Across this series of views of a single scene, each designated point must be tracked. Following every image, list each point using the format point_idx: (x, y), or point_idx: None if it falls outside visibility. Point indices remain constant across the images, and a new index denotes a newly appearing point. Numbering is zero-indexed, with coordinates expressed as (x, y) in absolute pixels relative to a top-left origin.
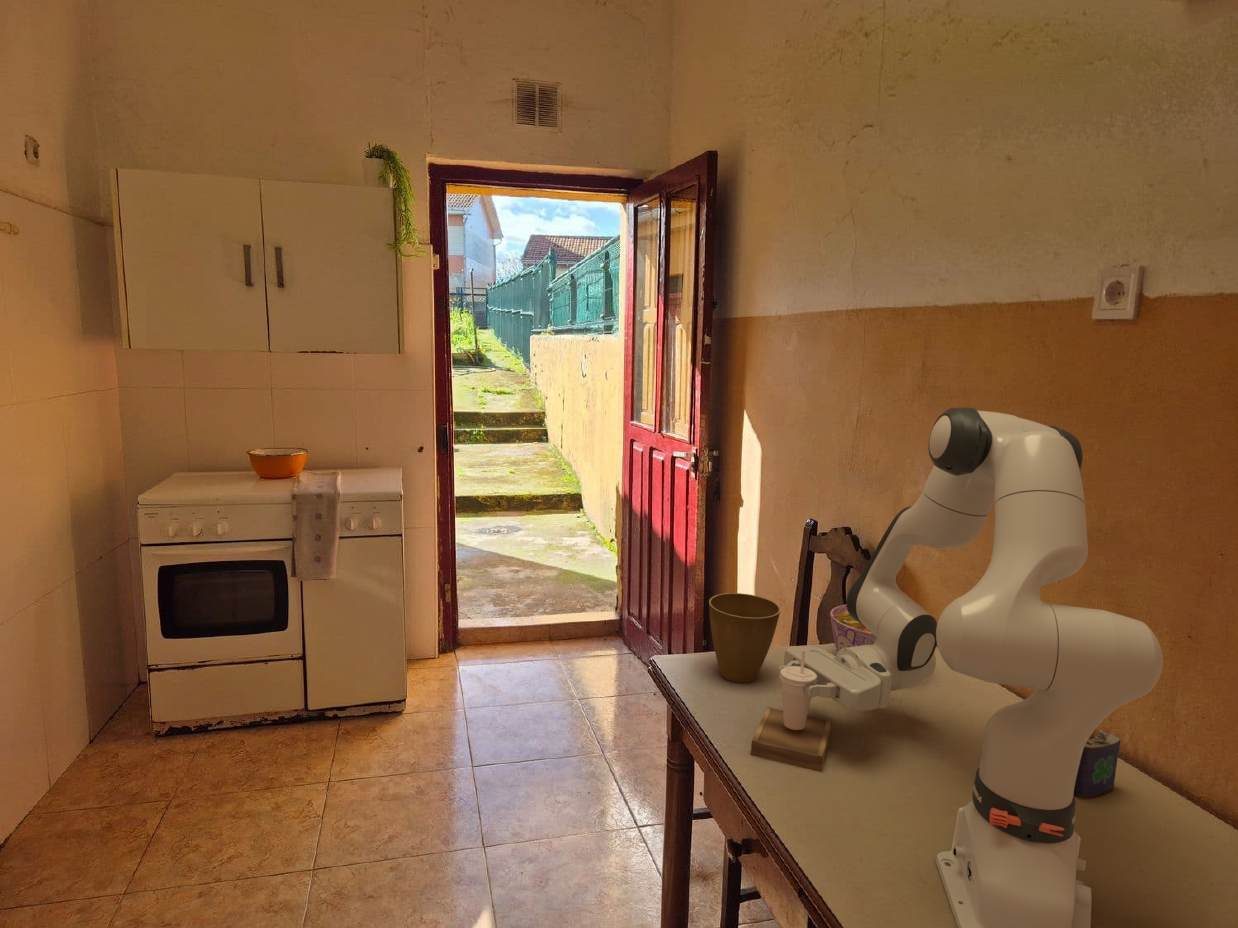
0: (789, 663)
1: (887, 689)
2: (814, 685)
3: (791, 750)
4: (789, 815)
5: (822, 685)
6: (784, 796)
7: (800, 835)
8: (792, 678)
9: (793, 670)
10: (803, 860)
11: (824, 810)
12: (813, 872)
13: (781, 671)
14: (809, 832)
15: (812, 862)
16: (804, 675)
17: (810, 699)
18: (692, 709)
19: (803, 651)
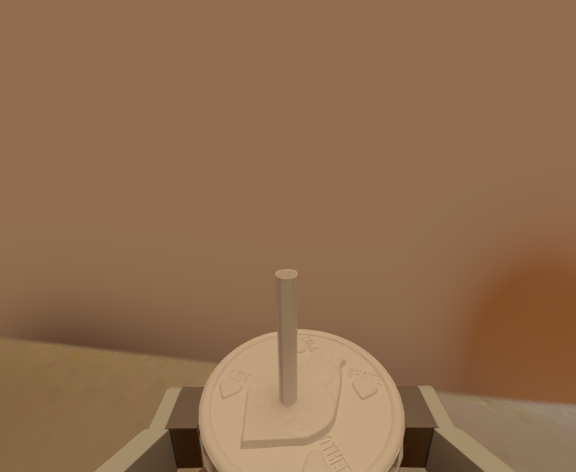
0: (483, 453)
1: None
2: (171, 413)
3: (203, 468)
4: (98, 381)
5: (134, 452)
6: (136, 402)
7: (59, 369)
8: (265, 345)
9: (331, 378)
10: (35, 347)
11: (38, 448)
12: (13, 346)
13: (338, 338)
14: (47, 384)
15: (20, 354)
16: (256, 393)
17: None
18: (508, 403)
19: (278, 273)
